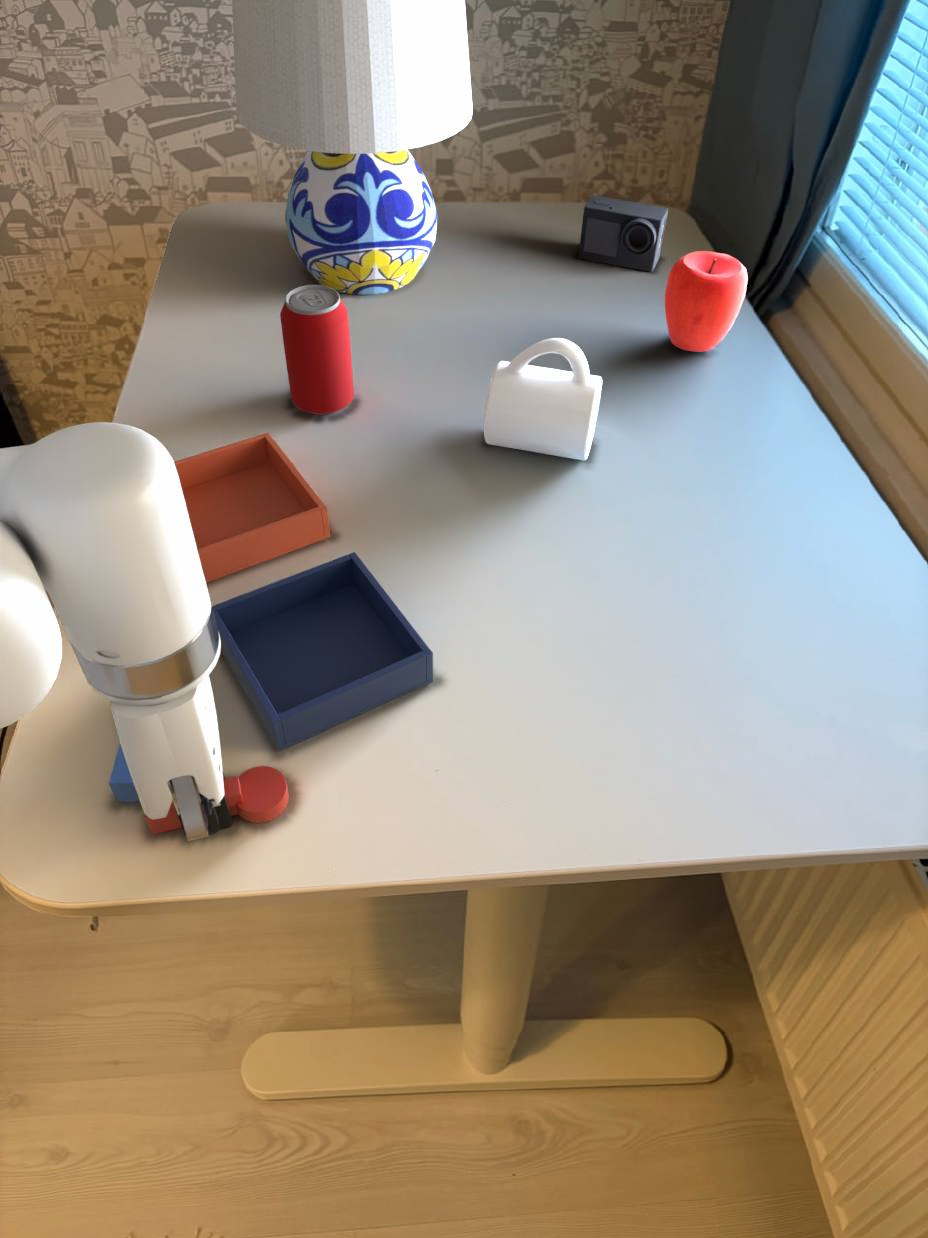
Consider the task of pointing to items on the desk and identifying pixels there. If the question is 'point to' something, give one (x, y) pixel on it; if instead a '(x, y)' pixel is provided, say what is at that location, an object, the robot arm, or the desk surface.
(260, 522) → the red bin
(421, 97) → the table lamp
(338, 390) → the beverage can
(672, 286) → the apple
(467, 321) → the desk surface
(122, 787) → the blue spoon
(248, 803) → the red spoon
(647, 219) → the digital camera
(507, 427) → the white handbag
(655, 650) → the desk surface
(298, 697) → the blue bin
